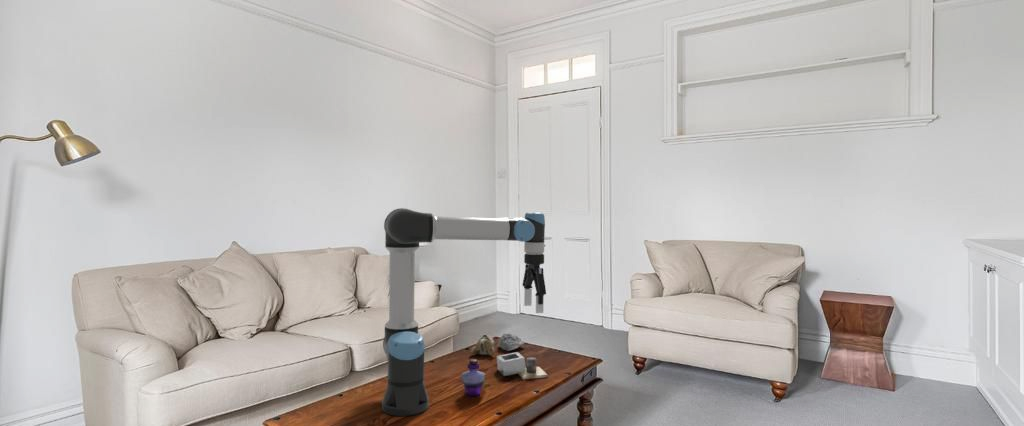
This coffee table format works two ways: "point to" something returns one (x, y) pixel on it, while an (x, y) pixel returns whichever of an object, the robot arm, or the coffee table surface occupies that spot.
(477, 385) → the potion bottle
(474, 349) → the ceramic sculpture
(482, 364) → the coffee table surface
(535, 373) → the cream square tile
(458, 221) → the robot arm
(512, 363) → the grey hollow square block
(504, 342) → the rock
